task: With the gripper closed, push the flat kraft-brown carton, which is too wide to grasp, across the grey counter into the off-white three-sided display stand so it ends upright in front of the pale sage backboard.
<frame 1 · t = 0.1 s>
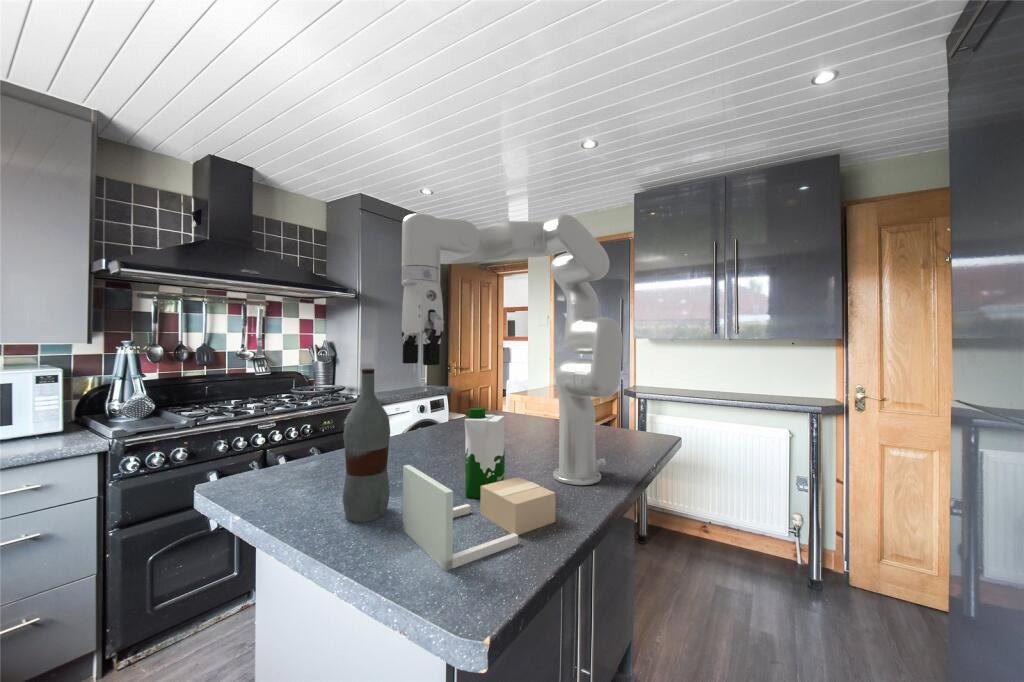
hand: (420, 364, 78), 31 cm above the counter, tool pointing down, fingers open, 9 cm apart
bottle: (366, 514, 82), on the counter
milk carton: (484, 494, 93), on the counter
display stand: (461, 535, 72), on the counter
kraft carton: (517, 518, 80), on the counter
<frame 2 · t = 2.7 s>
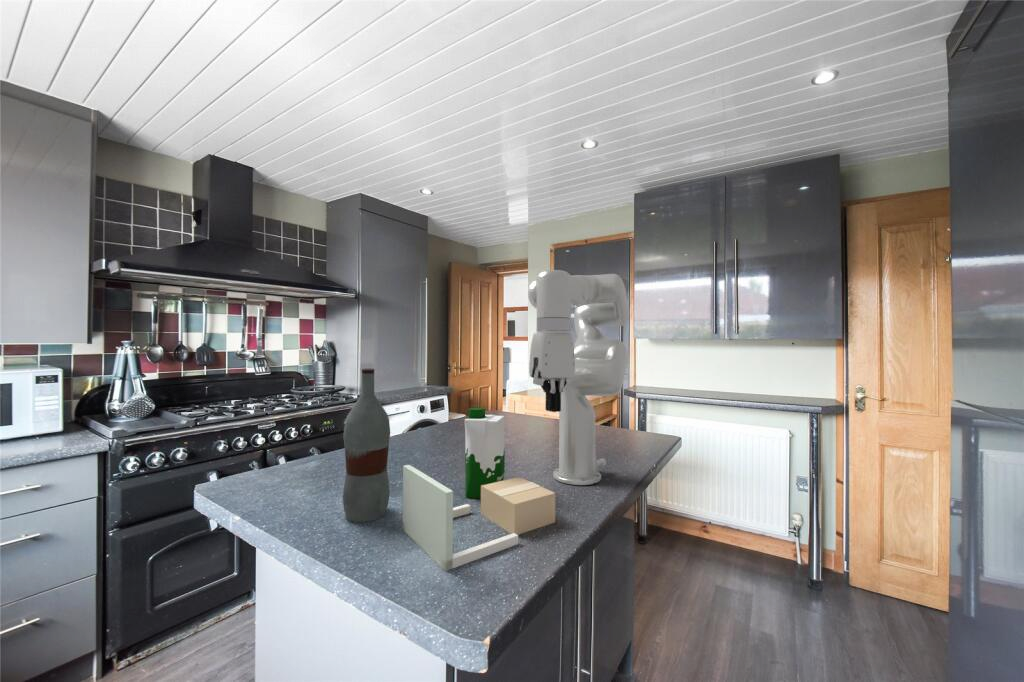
hand: (553, 410, 86), 21 cm above the counter, tool pointing down, fingers closed
nothing on the counter moved.
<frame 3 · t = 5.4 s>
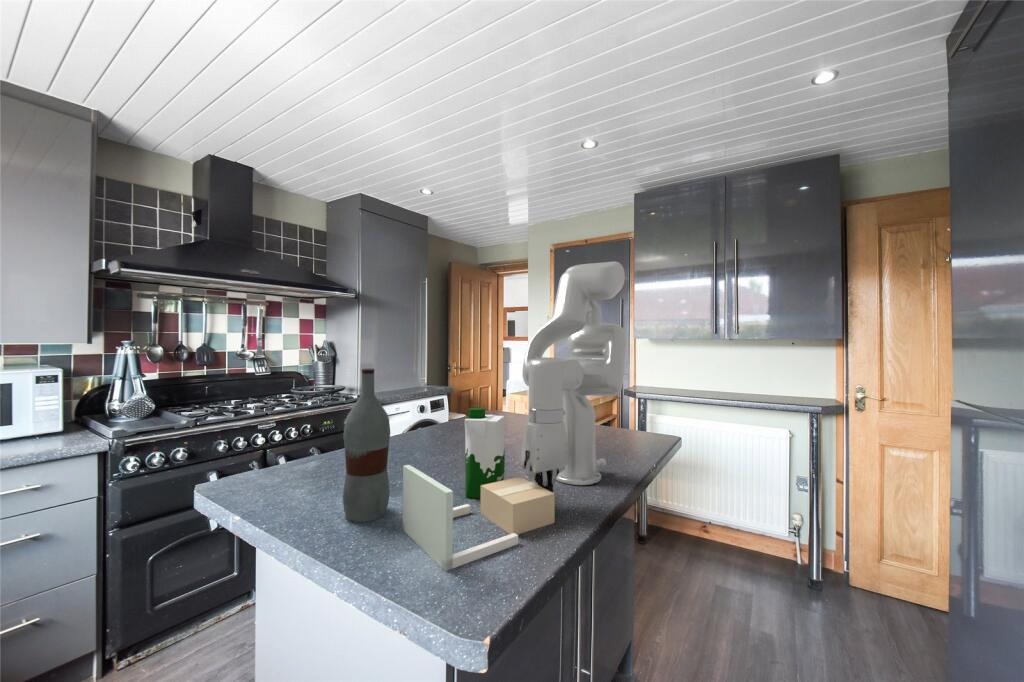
hand: (545, 501, 85), 1 cm above the counter, tool pointing down, fingers closed
kraft carton: (516, 519, 80), on the counter, touching gripper
everything else where it was.
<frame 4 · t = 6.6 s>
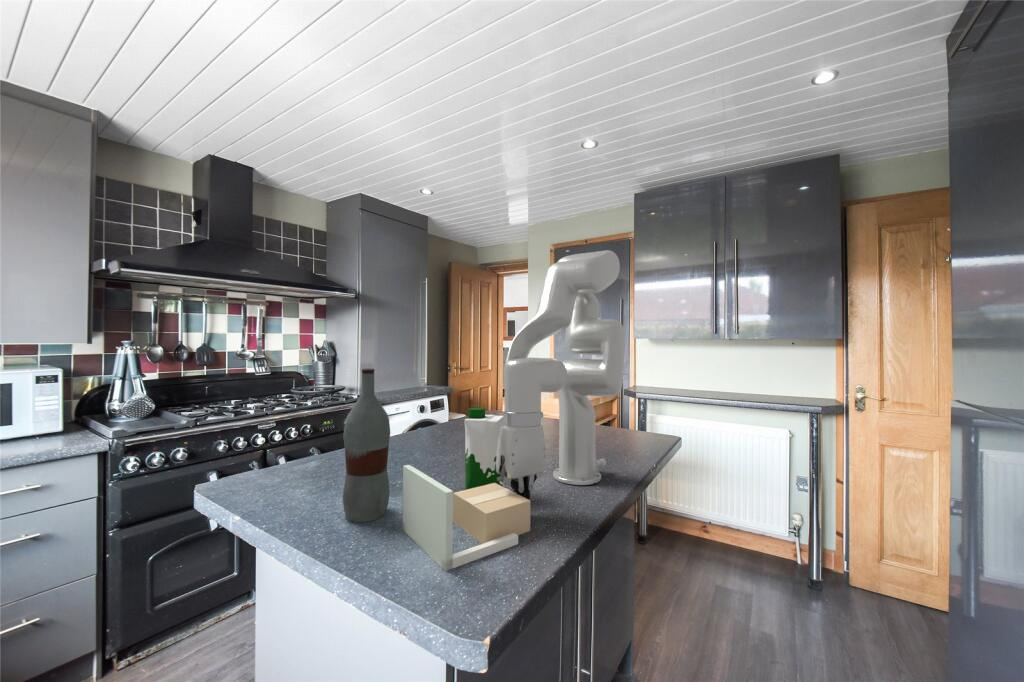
hand: (521, 508, 81), 1 cm above the counter, tool pointing down, fingers closed
kraft carton: (490, 527, 76), on the counter
everything else where it was.
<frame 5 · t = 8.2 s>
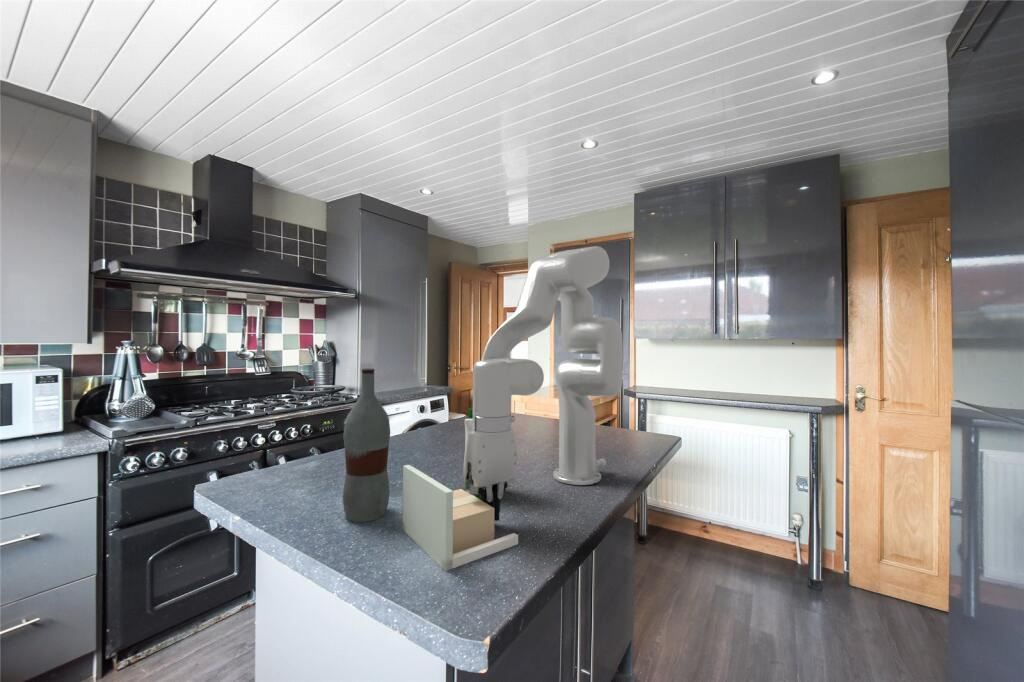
hand: (491, 518, 76), 1 cm above the counter, tool pointing down, fingers closed
kraft carton: (453, 536, 72), on the counter, touching gripper
everything else where it was.
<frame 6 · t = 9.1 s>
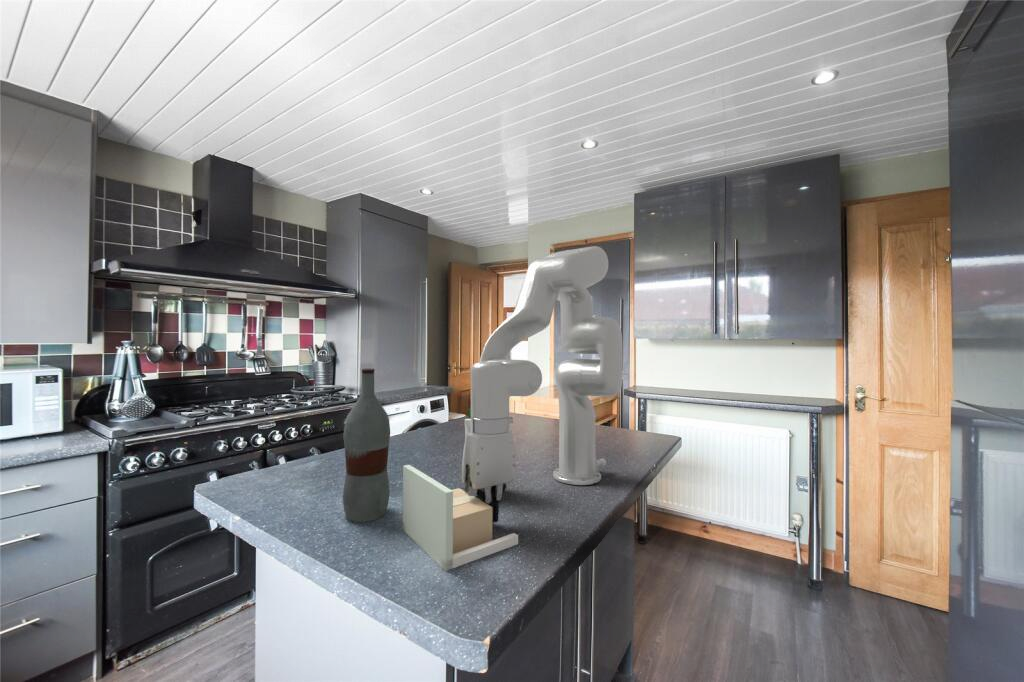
hand: (490, 520, 76), 1 cm above the counter, tool pointing down, fingers closed
kraft carton: (451, 536, 72), on the counter, touching display stand, gripper
everything else where it was.
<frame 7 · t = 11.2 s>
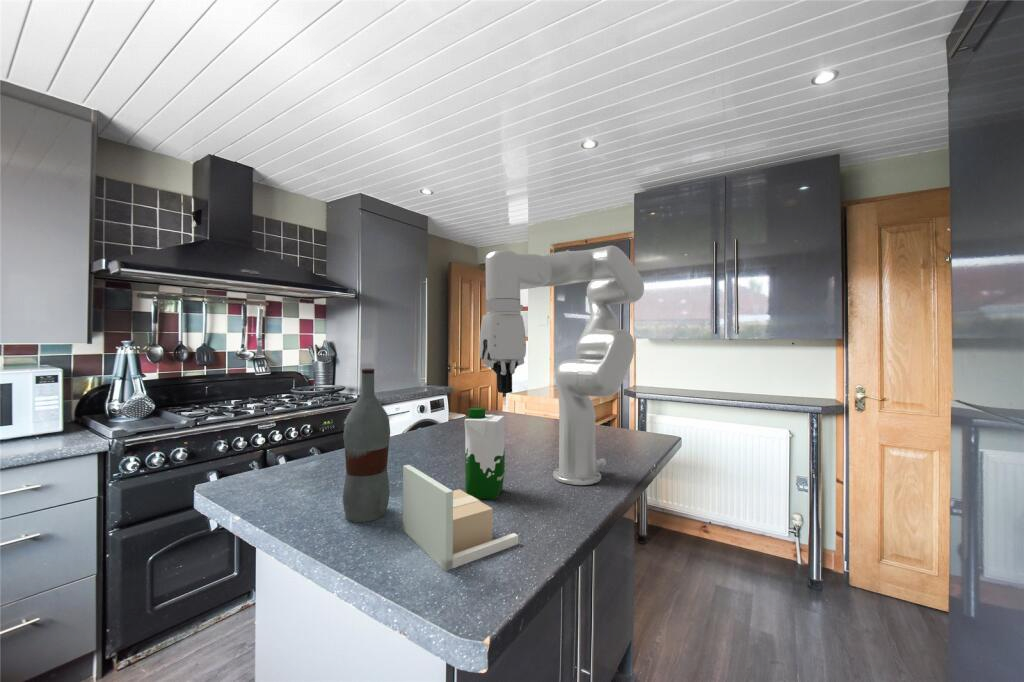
hand: (504, 392, 86), 25 cm above the counter, tool pointing down, fingers closed
kraft carton: (451, 537, 72), on the counter
everything else where it was.
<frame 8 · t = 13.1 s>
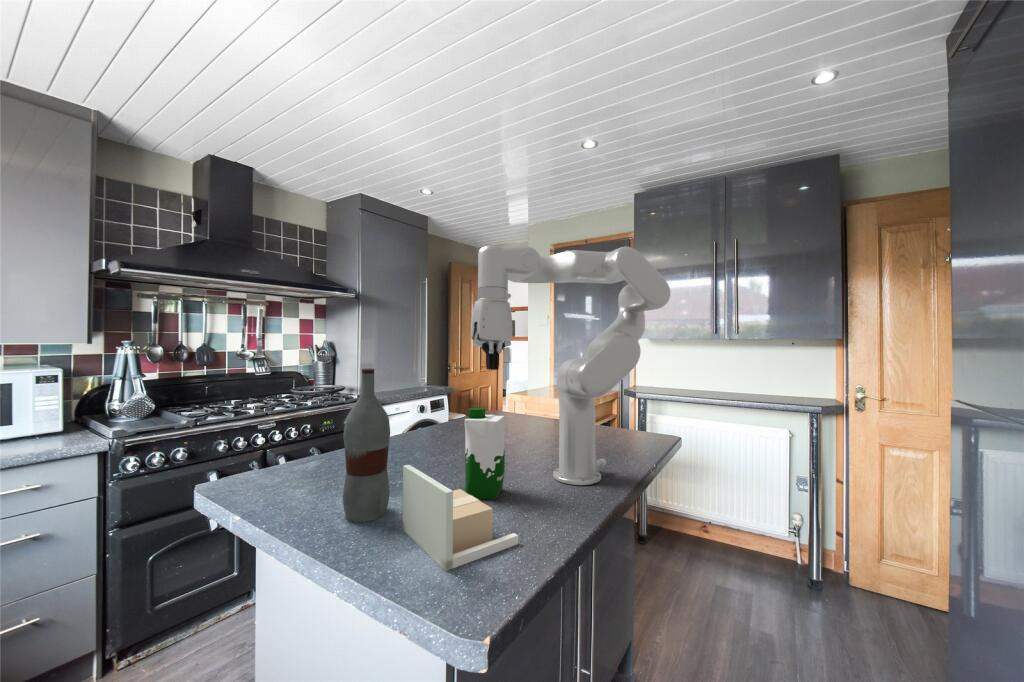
hand: (492, 369, 99), 29 cm above the counter, tool pointing down, fingers closed
nothing on the counter moved.
at the end: kraft carton 2.2 cm off-centre on the display stand, point 0.0 cm above the display stand's base; kraft carton tilted 0°; kraft carton moved 14.5 cm from its start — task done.
